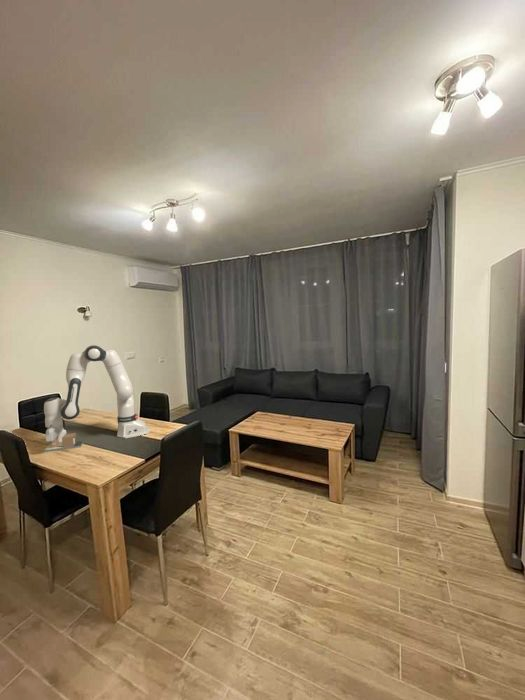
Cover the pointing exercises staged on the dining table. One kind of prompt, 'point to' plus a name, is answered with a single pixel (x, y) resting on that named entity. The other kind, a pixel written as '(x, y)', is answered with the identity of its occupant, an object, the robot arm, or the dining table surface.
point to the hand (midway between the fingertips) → (55, 443)
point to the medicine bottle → (62, 435)
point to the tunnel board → (66, 443)
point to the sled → (60, 443)
